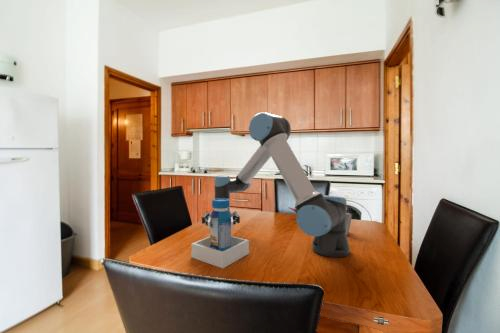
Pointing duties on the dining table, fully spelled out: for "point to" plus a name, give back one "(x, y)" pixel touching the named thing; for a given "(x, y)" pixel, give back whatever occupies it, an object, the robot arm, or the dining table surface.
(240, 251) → the box
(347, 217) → the digital clock
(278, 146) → the robot arm
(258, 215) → the dining table surface
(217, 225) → the beverage bottle
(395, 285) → the dining table surface
